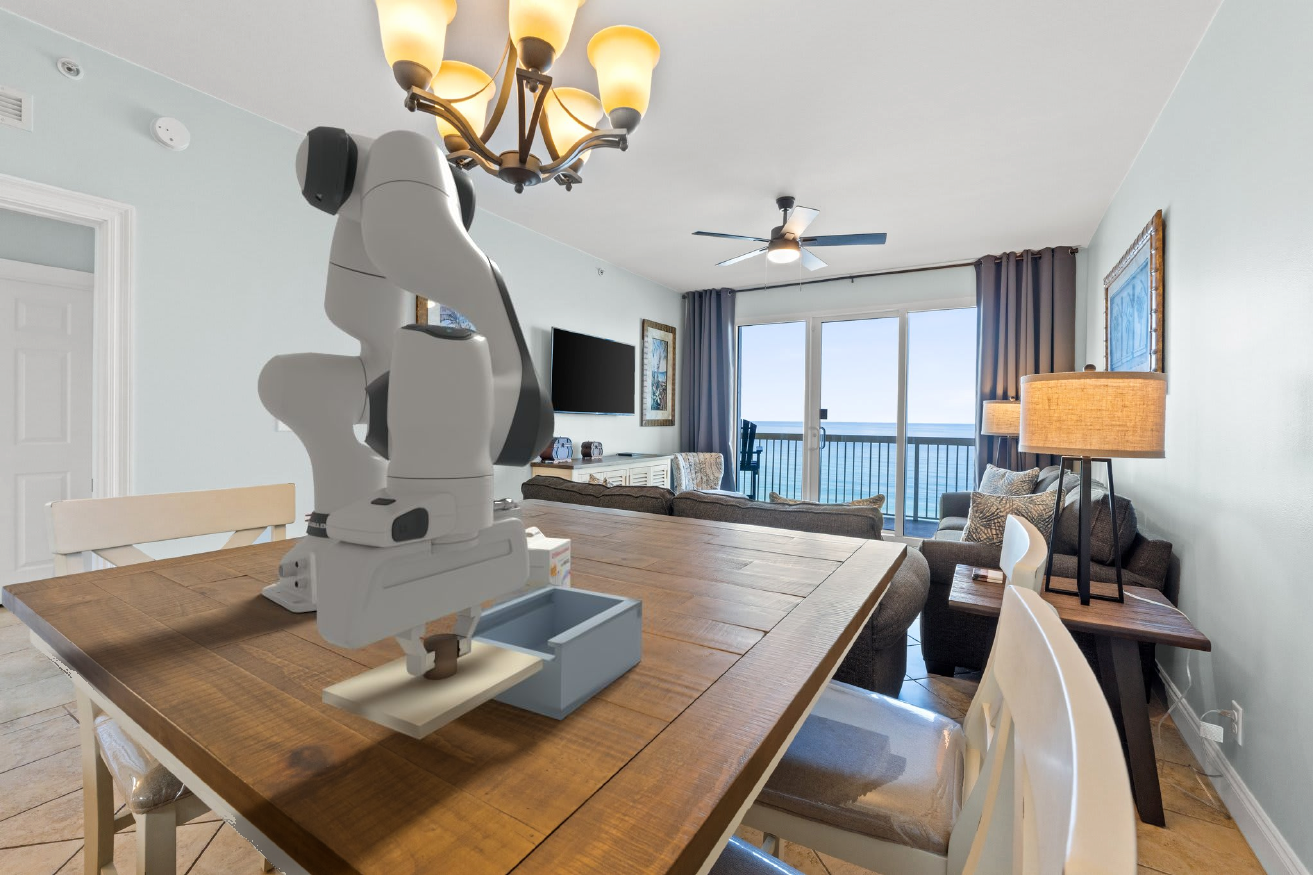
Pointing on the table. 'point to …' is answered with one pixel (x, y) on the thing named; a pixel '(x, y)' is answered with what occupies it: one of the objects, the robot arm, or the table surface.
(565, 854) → the table surface
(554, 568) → the ink box
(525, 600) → the box
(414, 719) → the lid
